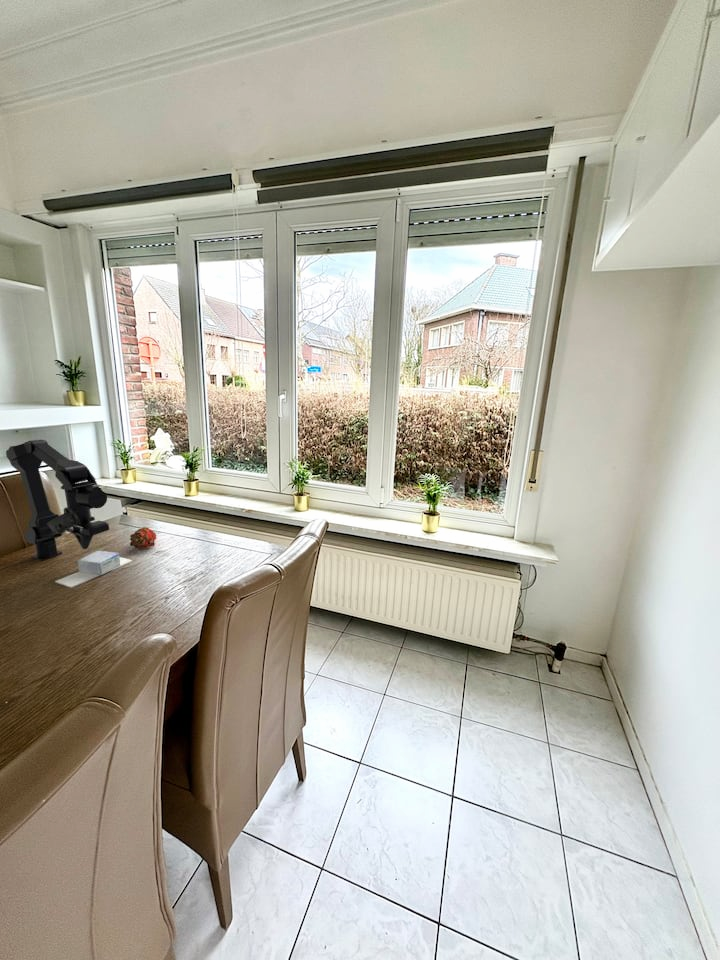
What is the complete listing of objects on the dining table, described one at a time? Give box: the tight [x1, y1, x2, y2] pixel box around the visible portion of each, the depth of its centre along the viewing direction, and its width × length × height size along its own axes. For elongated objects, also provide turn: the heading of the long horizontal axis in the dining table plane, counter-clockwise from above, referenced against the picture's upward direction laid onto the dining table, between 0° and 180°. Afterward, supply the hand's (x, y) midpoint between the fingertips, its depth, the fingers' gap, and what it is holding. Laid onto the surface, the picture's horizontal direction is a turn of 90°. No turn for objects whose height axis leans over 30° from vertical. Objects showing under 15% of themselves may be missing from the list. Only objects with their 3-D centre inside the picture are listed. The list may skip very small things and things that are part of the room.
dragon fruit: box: [129, 526, 157, 551], centre depth 143 cm, size 8×8×12 cm
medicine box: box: [77, 550, 121, 576], centre depth 125 cm, size 8×4×9 cm
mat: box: [54, 556, 133, 589], centre depth 125 cm, size 8×20×1 cm, turn 157°
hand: (85, 548), depth 125 cm, fingers closed
